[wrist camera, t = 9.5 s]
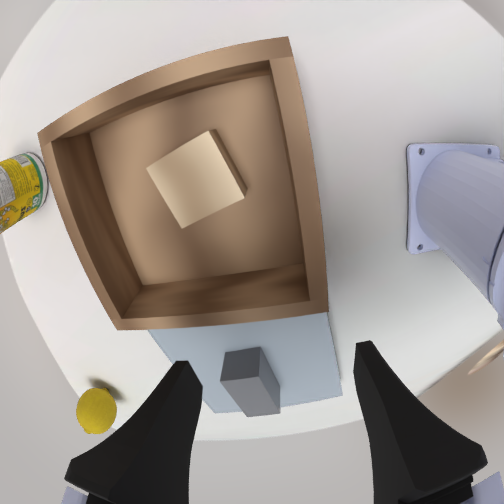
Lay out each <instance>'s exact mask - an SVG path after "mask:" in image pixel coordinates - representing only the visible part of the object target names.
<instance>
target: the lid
mask: <svg viewBox="0 0 504 504" xmlns="http://www.w3.org/2000/svg"><path fill="white" fill-rule="evenodd" d="M148 332H149V333H150V334H151V336H152V337H153V339H154V340H155V341H156V343H157V344H158V345H159V347H160V348H161V349H162V351H163V352H164V353H165V355H166V356H167V357H168V359H169V360H170V361H171V362H172V364H174V363H175V361H186V360H188V361H189V363H190V365H191V366H192V368H193V370H194V372H195V373H196V375H197V377H198V379H199V380H200V382H201V384H202V385H203V393H202V400H203V401H204V402H205V403H206V404H207V405H208V406H209V407H210V408H211V409H212V411H213V412H214V413H228V412H242V411H243V412H244V414H245V415H246V416H247V417H253V416H263V415H272V414H280V407H285V406H291V405H298V404H303V403H309V402H314V401H319V400H324V399H329V398H333V397H338V396H342V395H343V394H342V388H341V382H340V377H339V371H338V366H337V360H336V355H335V350H334V345H333V340H332V335H331V330H330V326H329V321H328V317H327V312H325V313H318V314H312V315H305V316H298V317H291V318H283V319H275V320H267V321H259V322H249V323H240V324H229V325H218V326H205V327H191V328H174V329H151V330H148Z"/></svg>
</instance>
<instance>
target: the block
mask: <svg viewBox="0 0 504 504" xmlns="http://www.w3.org/2000/svg"><path fill="white" fill-rule="evenodd" d="M146 169H147V171H148V173H149V174H150V176H151V178H152V180H153V181H154V183H155V185H156V186H157V188H158V190H159V192H160V193H161V195H162V197H163V198H164V200H165V202H166V203H167V205H168V207H169V208H170V210H171V212H172V213H173V215H174V217H175V218H176V220H177V221H178V223H179V225H180V226H181V228H184V227H186V226H188V225H190V224H192V223H194V222H196V221H198V220H200V219H202V218H204V217H206V216H208V215H210V214H212V213H215V212H217V211H219V210H221V209H223V208H225V207H227V206H229V205H231V204H233V203H235V202H237V201H240V200H242V199H244V198H245V196H246V193H247V189H248V188H247V186H246V184H245V182H244V180H243V178H242V177H241V175H240V173H239V171H238V169H237V167H236V165H235V163H234V162H233V160H232V158H231V156H230V154H229V152H228V150H227V149H226V147H225V145H224V143H223V141H222V139H221V137H220V136H219V134H218V132H217V130H216V129H214V130H209V131H207V132H205V133H203V134H201V135H199V136H198V137H196V138H194V139H192V140H191V141H189V142H187V143H186V144H184V145H182V146H180V147H179V148H177V149H176V150H174V151H172V152H171V153H169V154H167V155H166V156H164V157H163V158H161V159H160V160H158V161H156V162H155V163H153V164H152V165H150V166H149V167H147V168H146Z"/></svg>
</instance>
